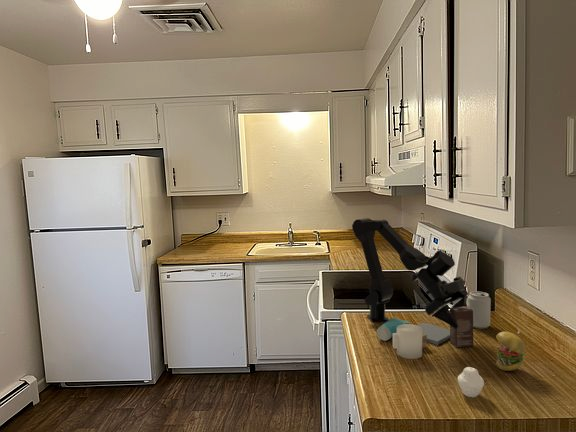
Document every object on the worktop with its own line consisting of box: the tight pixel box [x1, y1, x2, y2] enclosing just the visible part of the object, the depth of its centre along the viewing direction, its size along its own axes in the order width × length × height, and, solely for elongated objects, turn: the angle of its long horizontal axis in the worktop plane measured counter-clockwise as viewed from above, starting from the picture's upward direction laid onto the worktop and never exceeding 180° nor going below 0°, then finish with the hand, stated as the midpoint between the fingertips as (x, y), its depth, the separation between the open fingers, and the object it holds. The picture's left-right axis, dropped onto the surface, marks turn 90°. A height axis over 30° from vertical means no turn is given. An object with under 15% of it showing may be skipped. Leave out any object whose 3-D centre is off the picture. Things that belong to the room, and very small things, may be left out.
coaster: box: [417, 322, 450, 346], centre depth 142 cm, size 12×12×1 cm
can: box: [467, 290, 492, 330], centre depth 149 cm, size 8×8×12 cm
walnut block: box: [422, 333, 428, 349], centre depth 133 cm, size 4×4×4 cm
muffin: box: [457, 366, 485, 398], centre depth 104 cm, size 6×6×7 cm
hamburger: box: [495, 329, 526, 372], centre depth 116 cm, size 8×7×12 cm
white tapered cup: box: [392, 323, 423, 360], centre depth 127 cm, size 9×8×8 cm
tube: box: [376, 317, 411, 342], centre depth 145 cm, size 7×5×19 cm
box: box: [449, 305, 474, 348], centre depth 133 cm, size 6×4×12 cm
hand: (464, 323), depth 132 cm, fingers open, 9 cm apart
